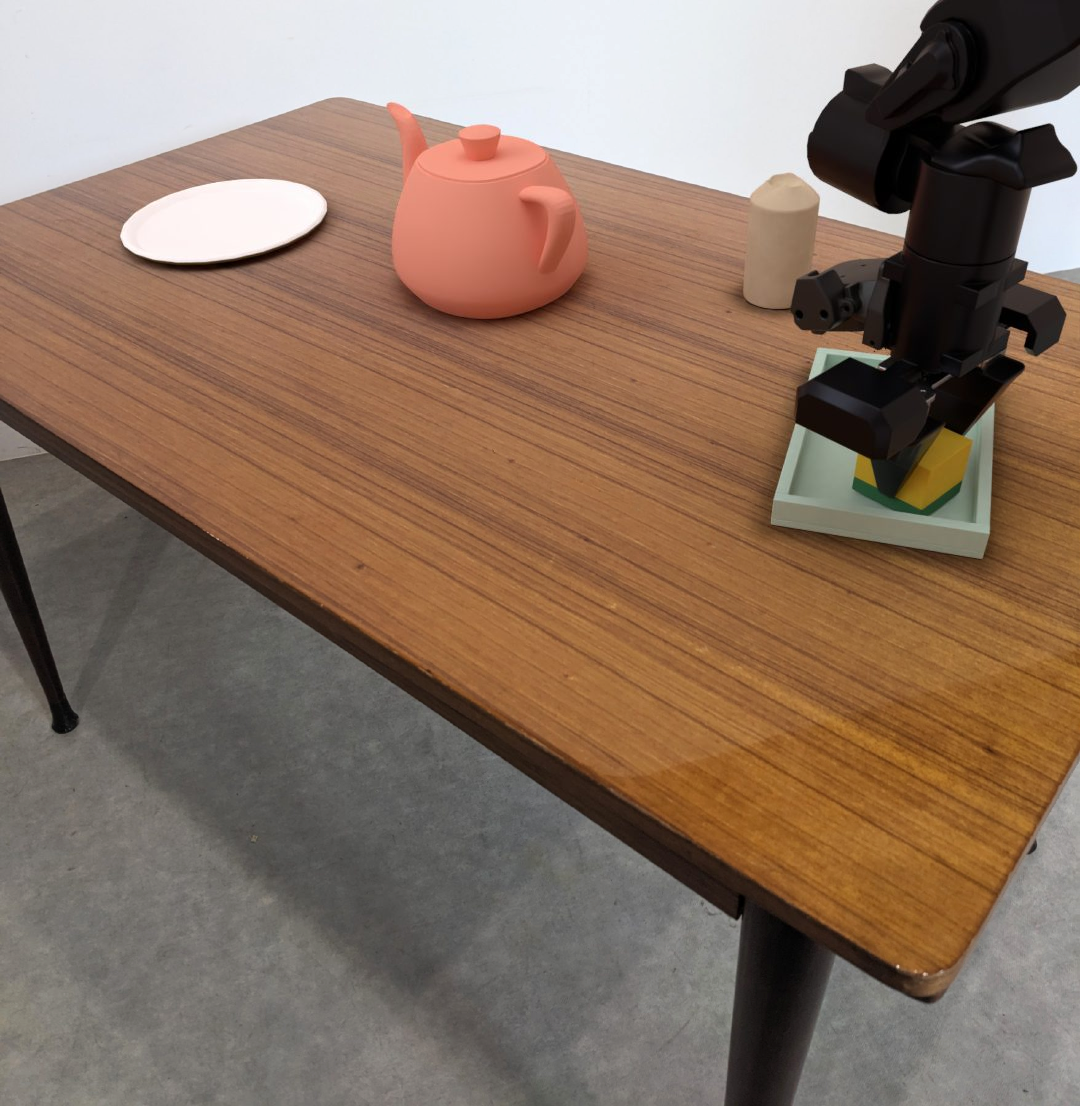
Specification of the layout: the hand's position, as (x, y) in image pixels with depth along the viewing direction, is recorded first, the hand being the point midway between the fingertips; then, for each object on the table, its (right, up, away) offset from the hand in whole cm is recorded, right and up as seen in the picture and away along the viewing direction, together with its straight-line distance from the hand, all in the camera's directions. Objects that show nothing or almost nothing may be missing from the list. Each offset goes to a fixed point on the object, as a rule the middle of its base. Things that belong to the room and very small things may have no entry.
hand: (909, 478), depth 66 cm
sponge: (0, -1, +1) cm, 1 cm away
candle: (-3, +17, +24) cm, 29 cm away
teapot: (-28, +20, +29) cm, 45 cm away
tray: (0, +2, +5) cm, 6 cm away
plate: (-55, +29, +41) cm, 75 cm away
